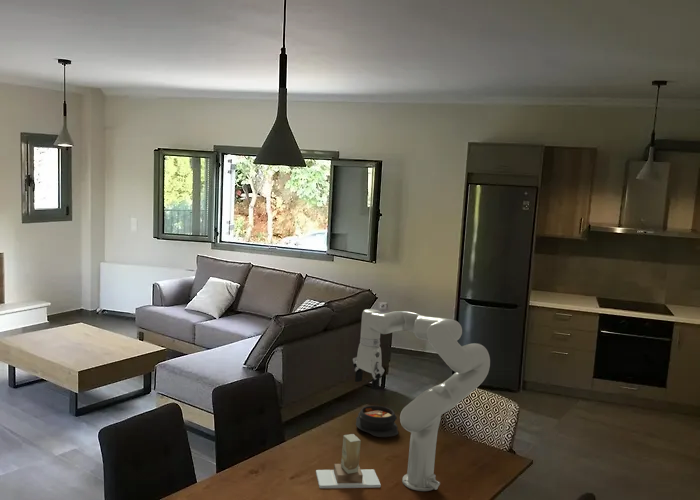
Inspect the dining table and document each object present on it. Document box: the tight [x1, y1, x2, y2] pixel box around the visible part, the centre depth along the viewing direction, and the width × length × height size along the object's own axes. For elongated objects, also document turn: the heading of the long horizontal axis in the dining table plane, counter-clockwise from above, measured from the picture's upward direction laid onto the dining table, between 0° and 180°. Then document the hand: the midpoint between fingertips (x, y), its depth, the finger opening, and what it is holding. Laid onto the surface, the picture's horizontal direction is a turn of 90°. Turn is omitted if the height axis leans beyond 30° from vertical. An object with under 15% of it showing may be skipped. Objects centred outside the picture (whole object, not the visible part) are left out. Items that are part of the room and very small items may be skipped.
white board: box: [315, 468, 382, 489], centre depth 228 cm, size 22×12×1 cm, turn 100°
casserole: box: [355, 405, 399, 438], centre depth 276 cm, size 25×19×8 cm
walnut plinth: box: [333, 463, 363, 483], centre depth 228 cm, size 9×9×3 cm
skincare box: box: [340, 433, 362, 474], centre depth 227 cm, size 6×4×12 cm
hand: (366, 384), depth 242 cm, fingers open, 9 cm apart
